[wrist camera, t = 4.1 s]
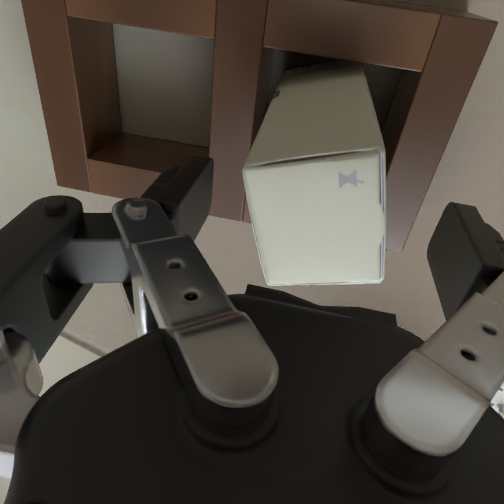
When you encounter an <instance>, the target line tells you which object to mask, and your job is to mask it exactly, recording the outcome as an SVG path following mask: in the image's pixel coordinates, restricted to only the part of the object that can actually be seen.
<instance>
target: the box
mask: <svg viewBox="0 0 504 504" xmlns="http://www.w3.org/2000/svg"><path fill="white" fill-rule="evenodd" d="M242 173H243V180H244V186H245V192H246V197H247V202H248V207H249V212H250V217H251V222H252V227H253V232H254V237H255V241H256V245H257V249H258V254H259V258H260V262H261V266H262V270H263V273H264V277H265V281H266V283H267V284H268V285H269V286H284V285H343V284H372V283H381V282H382V281H383V279H384V276H385V263H386V226H387V217H386V151H385V146H384V143H383V138H382V134H381V131H380V128H379V123H378V120H377V116H376V112H375V109H374V105H373V102H372V98H371V95H370V91H369V87H368V83H367V80H366V76H365V73H364V69H363V65H362V63H360V62H354V61H348V60H338V61H332V62H326V63H321V64H315V65H309V66H304V67H299V68H295V69H290V70H286V71H284V72H283V75H282V77H281V79H280V82H279V84H278V86H277V89H276V91H275V94H274V96H273V98H272V101H271V103H270V106H269V108H268V110H267V112H266V115H265V117H264V119H263V122H262V124H261V127H260V129H259V131H258V134H257V136H256V138H255V140H254V143H253V145H252V148H251V150H250V152H249V154H248V157H247V159H246V161H245V164H244V166H243V170H242Z"/></svg>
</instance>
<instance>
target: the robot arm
mask: <svg viewBox="0 0 504 504" xmlns="http://www.w3.org/2000/svg"><path fill="white" fill-rule="evenodd" d="M213 172H214V160H213V158H210V157H204V156H199V155H194V154H192V155H191V156H190V157H189V158H188V159H187V161H186V162H185V163H184V164H183V165H182V166H178V165H174V166H172V167H170V168H168V169H165V170H164V171H163V172H162V173H161V174H160V175H159V176H158V178H157V179H156V180H155V181H154V182H153V184H151V185H150V186H149V188H148V189H147V190H146V191H145V192H144V193H143V194H142V195H141V197H135V198H127V199H124V200H121V201H119V202H117V203H116V204H115V205H114V206H113V207H112V213H83V207H82V203H81V202H80V201H79V200H78V199H76V198H73V197H70V196H60V195H59V196H49V197H45V198H41V199H39V200H36V201H35V202H33V203H32V204H30V205H29V206H28V207H27V208H26V209H24V210H23V211H22V212H21V213H20V214H19V215H17V216H16V217H15V218H14V219H13V220H11V221H10V222H9V223H8V224H7V225H6V226H4V227H3V228H2V229H1V230H0V477H3V478H8V479H11V482H10V486H9V489H8V493H7V496H6V499H5V502H4V504H504V419H503V418H502V417H501V416H500V415H499V414H498V413H497V412H496V411H495V410H494V409H493V408H492V407H491V406H490V403H491V400H492V399H493V397H494V396H495V394H496V393H497V391H498V390H499V388H500V387H501V385H502V384H503V383H504V240H503V238H502V237H501V235H500V233H498V232H497V231H496V230H495V229H494V228H492V227H491V226H490V225H489V224H487V223H485V222H484V221H483V219H482V217H481V215H480V214H479V212H478V210H477V208H476V207H475V206H470V205H465V204H459V203H454V202H450V203H449V204H448V205H447V206H446V208H445V210H444V212H443V214H442V216H441V218H440V220H439V222H438V225H437V227H436V229H435V231H434V233H433V235H432V238H431V240H430V242H429V245H428V250H427V259H428V262H429V266H430V269H431V272H432V276H433V279H434V282H435V286H436V289H437V292H438V296H439V299H440V302H441V306H442V309H443V312H444V315H445V319H446V322H445V323H444V324H443V325H442V326H441V327H440V328H439V329H438V330H437V331H436V332H435V333H434V334H433V335H432V336H431V337H430V338H429V339H428V340H427V341H426V342H424V341H423V340H422V339H420V338H419V337H417V336H416V335H414V334H412V333H411V332H409V331H407V330H405V329H403V328H400V327H398V326H397V323H396V316H395V314H390V313H385V312H380V311H375V310H370V309H366V308H361V307H340V306H320V305H316V304H314V303H311V302H309V301H306V300H304V299H301V298H299V297H296V296H294V295H291V294H289V293H286V292H284V291H279V290H274V289H269V288H264V287H260V286H255V285H250V284H248V285H247V289H246V292H245V294H231V295H227V294H226V293H225V291H224V289H223V288H222V286H221V285H220V283H219V281H218V280H217V278H216V277H215V275H214V273H213V272H212V270H211V269H210V267H209V265H208V264H207V262H206V261H205V259H204V257H203V256H202V254H201V253H200V251H199V249H198V248H197V246H196V245H195V243H194V240H195V238H196V236H197V235H198V233H199V231H200V229H201V227H202V225H203V224H204V222H205V220H206V218H207V216H208V214H209V211H210V208H211V202H212V189H213ZM94 283H120V287H121V289H122V292H123V295H124V298H125V301H126V304H127V307H128V310H129V312H130V315H131V318H132V321H133V324H134V327H135V331H136V336H137V339H135V340H133V341H131V342H129V343H127V344H125V345H123V346H122V347H120V348H118V349H116V350H114V351H112V352H110V353H108V354H107V355H105V356H103V357H101V358H99V359H97V360H95V361H93V362H91V363H90V364H88V365H86V366H84V367H82V368H80V369H78V370H77V371H75V372H73V373H71V374H69V375H68V376H66V377H64V378H63V379H61V380H59V381H58V382H57V383H55V384H54V385H53V386H52V387H50V388H49V389H48V390H47V391H46V392H45V393H44V394H43V395H42V396H41V397H40V396H39V394H40V391H41V389H42V386H43V376H42V372H41V369H40V366H39V363H40V362H41V360H42V358H43V357H44V356H45V355H46V353H47V352H48V350H49V349H50V347H51V346H52V344H53V343H54V341H55V340H56V338H57V337H58V336H59V334H60V333H61V331H62V330H63V328H64V327H65V325H66V324H67V323H68V321H69V320H70V318H71V317H72V315H73V314H74V312H75V311H76V309H77V308H78V307H79V305H80V304H81V302H82V301H83V299H84V298H85V296H86V295H87V293H88V292H89V290H90V289H91V288H92V286H93V284H94Z"/></svg>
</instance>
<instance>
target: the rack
mask: <svg viewBox="0 0 504 504" xmlns="http://www.w3.org/2000/svg"><path fill="white" fill-rule="evenodd" d="M21 2H22V7H23V12H24V17H25V22H26V27H27V32H28V37H29V42H30V48H31V53H32V58H33V63H34V68H35V73H36V78H37V83H38V88H39V93H40V99H41V104H42V109H43V114H44V119H45V124H46V129H47V134H48V139H49V144H50V149H51V155H52V160H53V165H54V170H55V175H56V180H57V185H58V186H61V187H66V188H71V189H76V190H82V191H87V192H92V193H96V194H101V195H106V196H111V197H117V198H122V199H127V198H135V197H141V195H142V194H143V193H144V192H145V191H146V190H147V189H148V188H149V186H150V185H151V184H153V182H154V181H155V180H156V179H157V178H158V176H159V175H160V174H161V173H162V172H163V171H164V170H165V169H168V168H170V167H172V166H174V165H178V166H182V165H183V164H184V163H185V162H186V161H187V159H188V158H189V157H190V156H191V155H192V154H194V155H199V156H204V157H210V158H213V160H214V172H213V189H212V202H211V208H210V211H209V214H208V215H211V216H216V217H221V218H226V219H231V220H237V221H243V222H247V223H252V222H251V217H250V212H249V207H248V202H247V197H246V192H245V186H244V180H243V173H242V170H243V166H244V164H245V161H246V159H247V157H248V154H249V152H250V150H251V148H252V145H253V143H254V140H255V138H256V136H257V134H258V131H259V129H260V127H261V124H262V122H263V119H264V116H265V108H266V100H267V93H268V85H269V78H270V70H271V63H272V55H273V49H279V50H285V51H291V52H298V53H304V54H310V55H316V56H323V57H329V58H335V59H342V60H348V61H354V62H360V63H367V64H373V65H379V66H386V67H392V68H398V69H403V71H402V74H401V77H400V81H399V84H398V87H397V90H396V93H395V96H394V100H393V103H392V106H391V109H390V112H389V115H388V119H387V122H386V125H385V128H384V131H383V134H382V138H383V143H384V146H385V151H386V217H387V226H386V250H391V251H396V252H402V250H403V247H404V245H405V243H406V240H407V238H408V235H409V233H410V231H411V228H412V226H413V224H414V221H415V219H416V216H417V214H418V212H419V209H420V207H421V205H422V202H423V200H424V198H425V195H426V193H427V190H428V188H429V186H430V183H431V181H432V179H433V176H434V174H435V171H436V169H437V167H438V164H439V162H440V160H441V157H442V155H443V152H444V150H445V148H446V145H447V143H448V141H449V138H450V136H451V134H452V131H453V129H454V126H455V124H456V122H457V119H458V117H459V115H460V112H461V110H462V107H463V105H464V103H465V100H466V98H467V96H468V93H469V91H470V88H471V86H472V84H473V81H474V79H475V77H476V74H477V72H478V70H479V67H480V65H481V62H482V60H483V58H484V55H485V53H486V51H487V48H488V46H489V43H490V41H491V39H492V36H493V34H494V32H495V29H496V27H497V24H498V22H497V21H494V20H491V19H487V18H484V17H481V16H478V15H475V14H472V13H469V12H463V11H456V10H450V9H443V8H436V7H429V6H422V5H415V4H409V3H402V2H395V1H388V0H21ZM112 23H116V24H122V25H128V26H134V27H141V28H147V29H153V30H160V31H166V32H172V33H178V34H185V35H191V36H197V37H203V38H210V39H215V46H214V65H213V84H212V103H211V122H210V141H209V148H203V147H198V146H192V145H187V144H181V143H176V142H170V141H165V140H159V139H153V138H148V137H142V136H137V135H131V134H126V133H121V124H120V112H119V100H118V88H117V76H116V64H115V52H114V40H113V28H112Z"/></svg>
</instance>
